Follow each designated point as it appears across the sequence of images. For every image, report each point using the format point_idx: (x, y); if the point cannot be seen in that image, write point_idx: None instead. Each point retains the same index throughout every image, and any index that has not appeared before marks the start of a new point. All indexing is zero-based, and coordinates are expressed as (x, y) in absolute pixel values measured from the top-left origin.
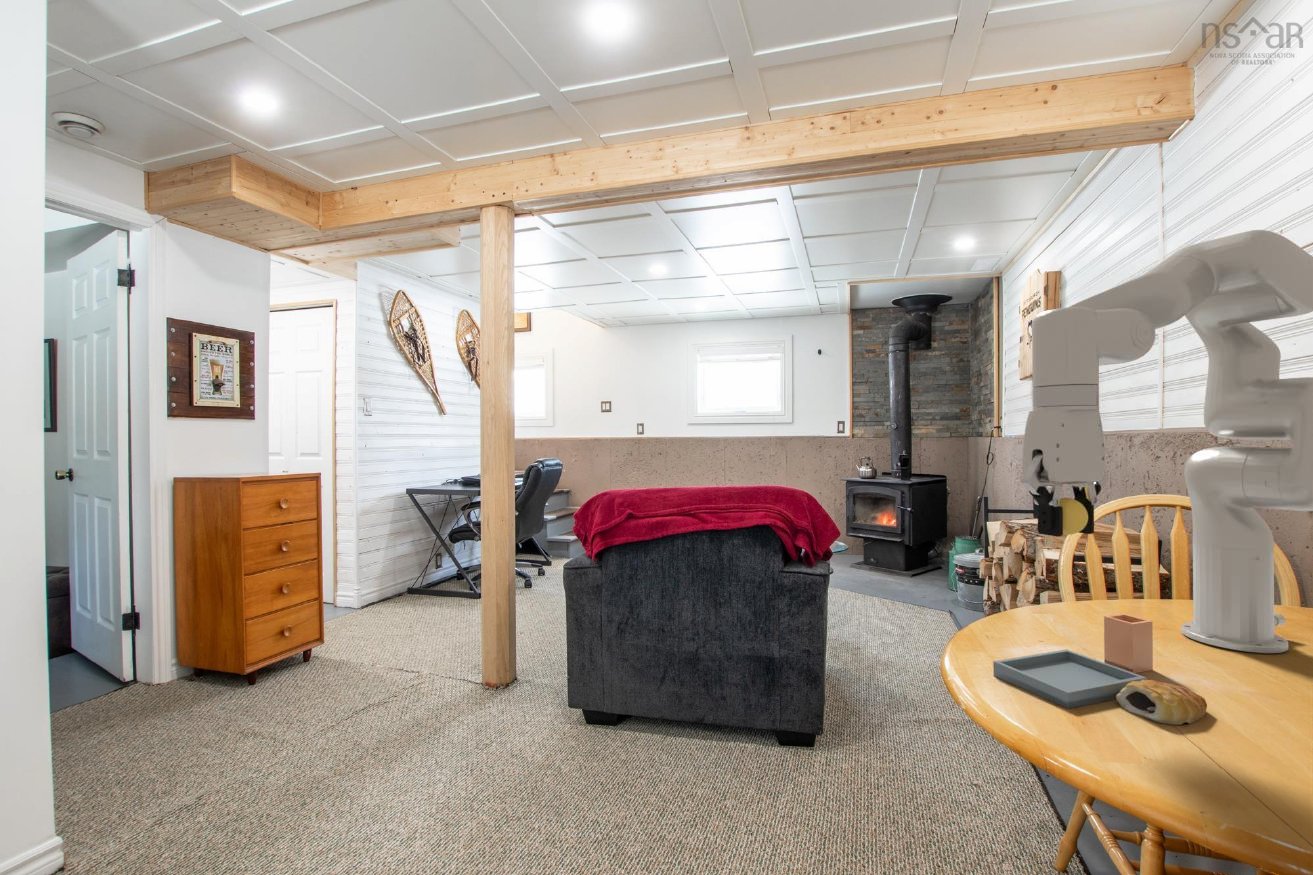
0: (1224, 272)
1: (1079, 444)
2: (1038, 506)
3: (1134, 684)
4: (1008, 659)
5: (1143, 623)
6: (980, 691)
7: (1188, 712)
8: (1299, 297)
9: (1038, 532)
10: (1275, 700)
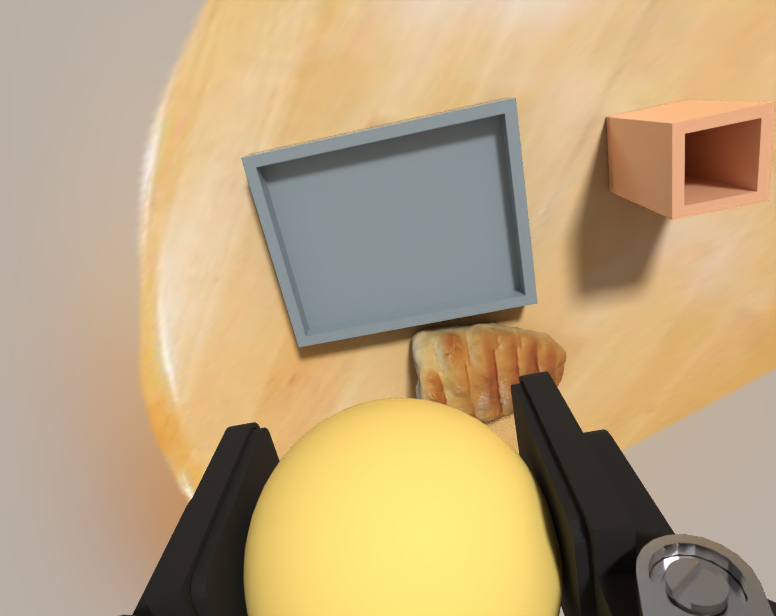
0: None
1: None
2: (157, 582)
3: (429, 380)
4: (291, 149)
5: (721, 209)
6: (170, 235)
7: None
8: None
9: (231, 426)
10: (743, 352)
